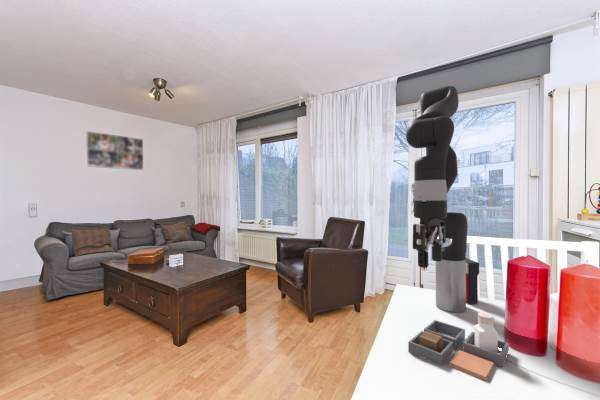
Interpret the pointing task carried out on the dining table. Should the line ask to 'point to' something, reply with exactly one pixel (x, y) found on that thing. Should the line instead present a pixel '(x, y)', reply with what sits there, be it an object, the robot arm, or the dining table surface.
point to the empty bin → (447, 329)
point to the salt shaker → (486, 333)
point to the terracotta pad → (472, 364)
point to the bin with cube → (430, 354)
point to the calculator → (472, 281)
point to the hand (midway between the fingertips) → (430, 263)
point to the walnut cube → (431, 341)
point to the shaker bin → (485, 354)
